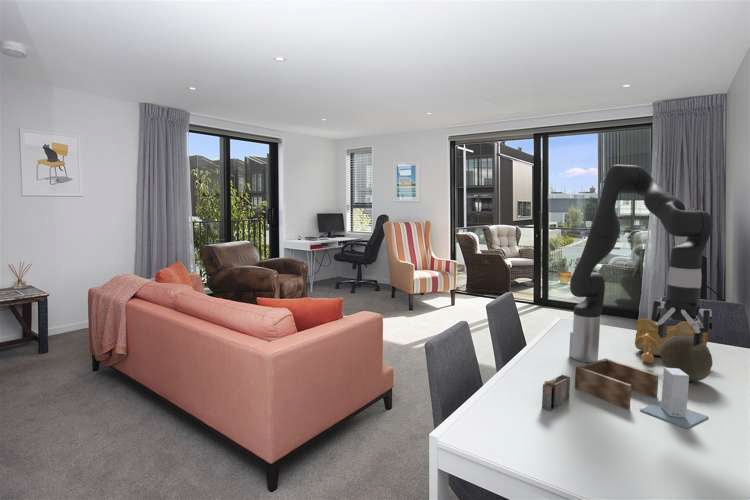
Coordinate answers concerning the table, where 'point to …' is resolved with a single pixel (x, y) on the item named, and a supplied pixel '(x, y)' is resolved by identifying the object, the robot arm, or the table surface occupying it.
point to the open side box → (615, 381)
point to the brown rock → (687, 357)
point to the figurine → (645, 356)
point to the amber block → (652, 329)
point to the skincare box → (675, 392)
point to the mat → (687, 422)
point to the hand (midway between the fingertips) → (679, 341)
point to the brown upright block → (556, 392)
